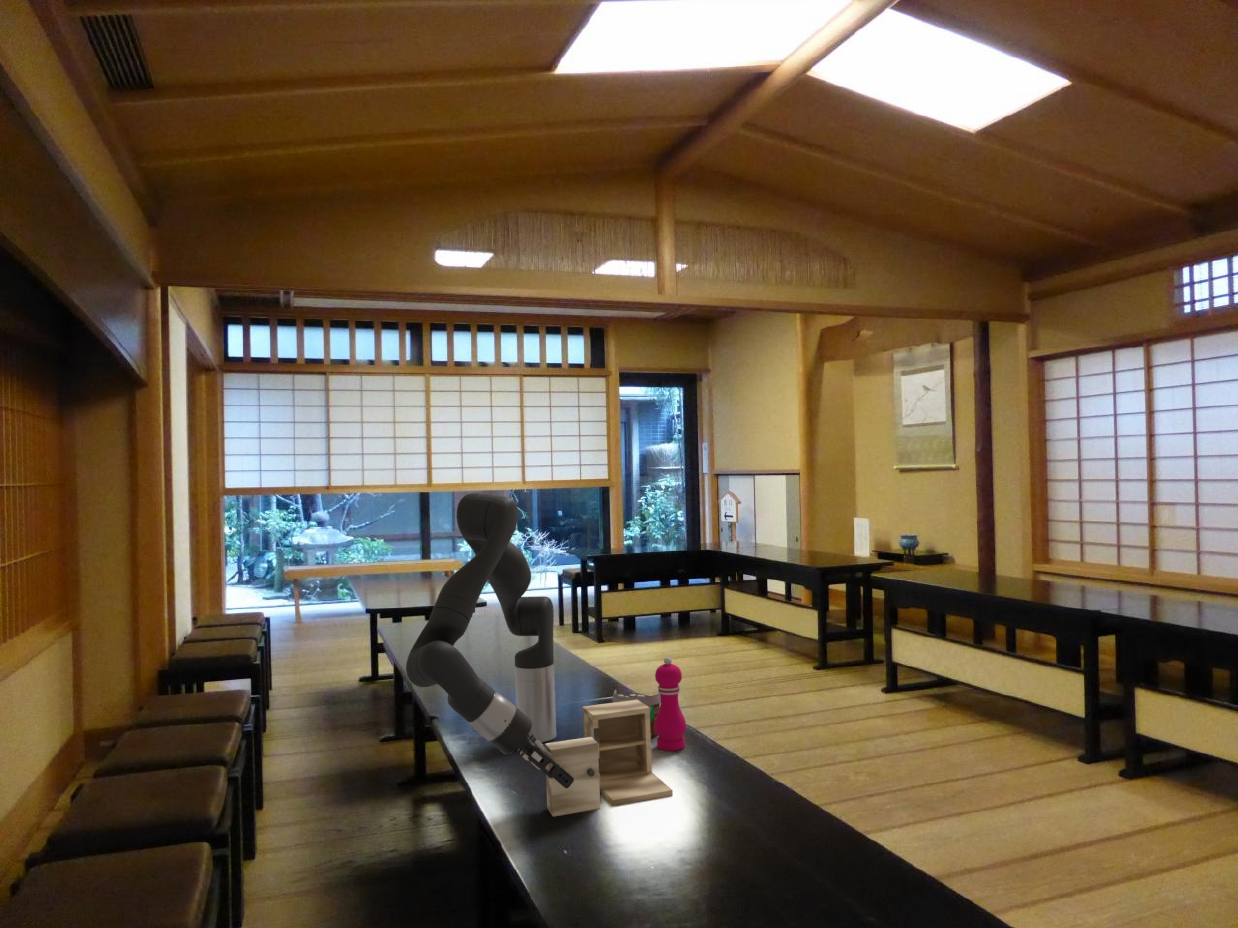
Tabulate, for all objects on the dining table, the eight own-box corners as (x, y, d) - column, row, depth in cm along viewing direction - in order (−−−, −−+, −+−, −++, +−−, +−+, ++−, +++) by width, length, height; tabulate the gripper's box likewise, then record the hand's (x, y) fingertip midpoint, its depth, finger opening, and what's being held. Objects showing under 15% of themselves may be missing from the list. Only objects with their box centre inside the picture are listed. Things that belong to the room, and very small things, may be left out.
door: (547, 808, 154) (545, 743, 154) (593, 800, 157) (591, 736, 157) (554, 818, 149) (551, 751, 149) (601, 810, 152) (599, 744, 152)
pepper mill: (685, 752, 182) (681, 660, 182) (652, 751, 183) (649, 660, 184) (689, 741, 189) (685, 653, 189) (657, 740, 191) (654, 653, 191)
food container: (605, 738, 194) (603, 695, 194) (615, 731, 199) (613, 689, 199) (655, 743, 189) (653, 699, 189) (663, 735, 195) (662, 692, 195)
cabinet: (585, 775, 170) (582, 706, 170) (639, 766, 174) (637, 699, 174) (613, 805, 154) (610, 729, 154) (672, 795, 158) (669, 721, 158)
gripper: (522, 715, 143) (589, 772, 147) (505, 695, 157) (567, 748, 160) (493, 750, 141) (561, 807, 145) (478, 727, 155) (541, 780, 159)
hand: (564, 776), depth 153 cm, fingers open, 7 cm apart
